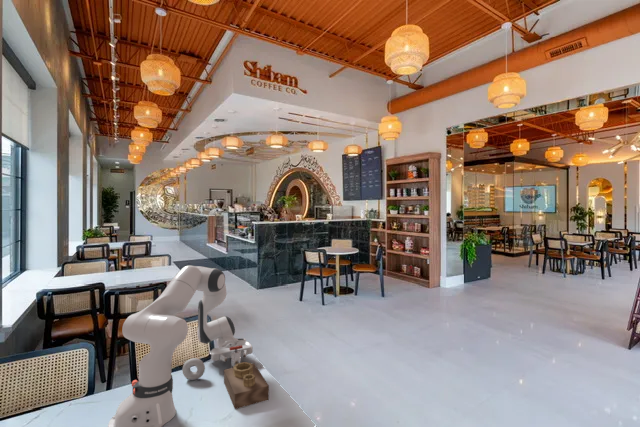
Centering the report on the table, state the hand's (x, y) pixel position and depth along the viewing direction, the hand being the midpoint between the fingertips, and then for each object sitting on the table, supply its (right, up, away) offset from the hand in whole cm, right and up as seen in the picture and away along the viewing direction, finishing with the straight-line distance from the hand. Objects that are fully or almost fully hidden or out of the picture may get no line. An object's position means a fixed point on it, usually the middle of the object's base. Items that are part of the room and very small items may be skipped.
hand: (235, 357), depth 159 cm
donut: (-17, -7, -7) cm, 20 cm away
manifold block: (+9, -7, -16) cm, 20 cm away
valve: (0, -7, 0) cm, 7 cm away
